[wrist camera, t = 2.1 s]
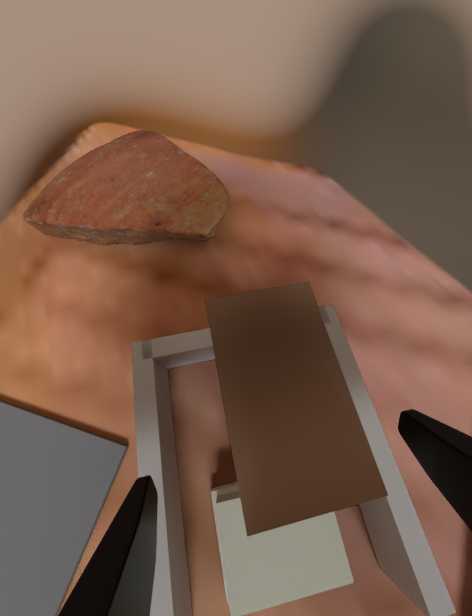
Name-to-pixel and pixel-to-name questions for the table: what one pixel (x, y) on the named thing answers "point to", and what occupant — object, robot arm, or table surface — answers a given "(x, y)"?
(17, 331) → the table surface
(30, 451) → the mat
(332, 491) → the brown rectangular block
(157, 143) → the ceramic shard
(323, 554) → the offcut
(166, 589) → the rack
